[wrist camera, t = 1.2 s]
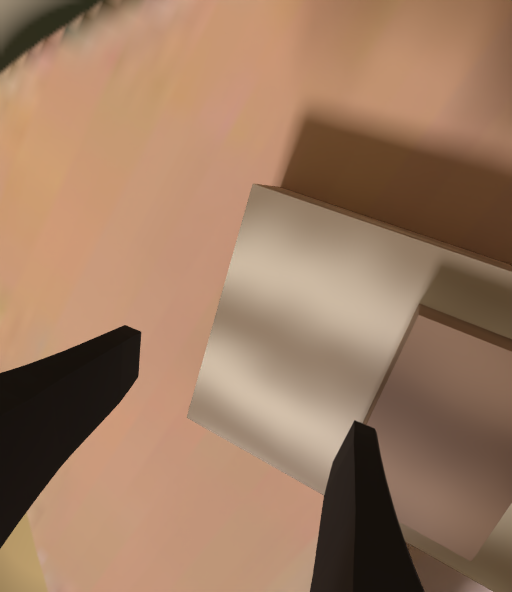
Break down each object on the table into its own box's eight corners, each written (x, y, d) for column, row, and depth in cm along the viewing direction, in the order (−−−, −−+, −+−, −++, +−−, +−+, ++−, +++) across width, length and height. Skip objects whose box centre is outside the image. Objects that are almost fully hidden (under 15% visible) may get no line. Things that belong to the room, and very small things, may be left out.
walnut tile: (466, 526, 18) (471, 561, 16) (344, 461, 20) (336, 487, 18) (572, 362, 15) (593, 384, 13) (418, 303, 17) (418, 314, 15)
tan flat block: (532, 555, 21) (555, 626, 18) (218, 389, 27) (186, 417, 23) (703, 329, 17) (782, 364, 13) (280, 187, 22) (252, 183, 19)
